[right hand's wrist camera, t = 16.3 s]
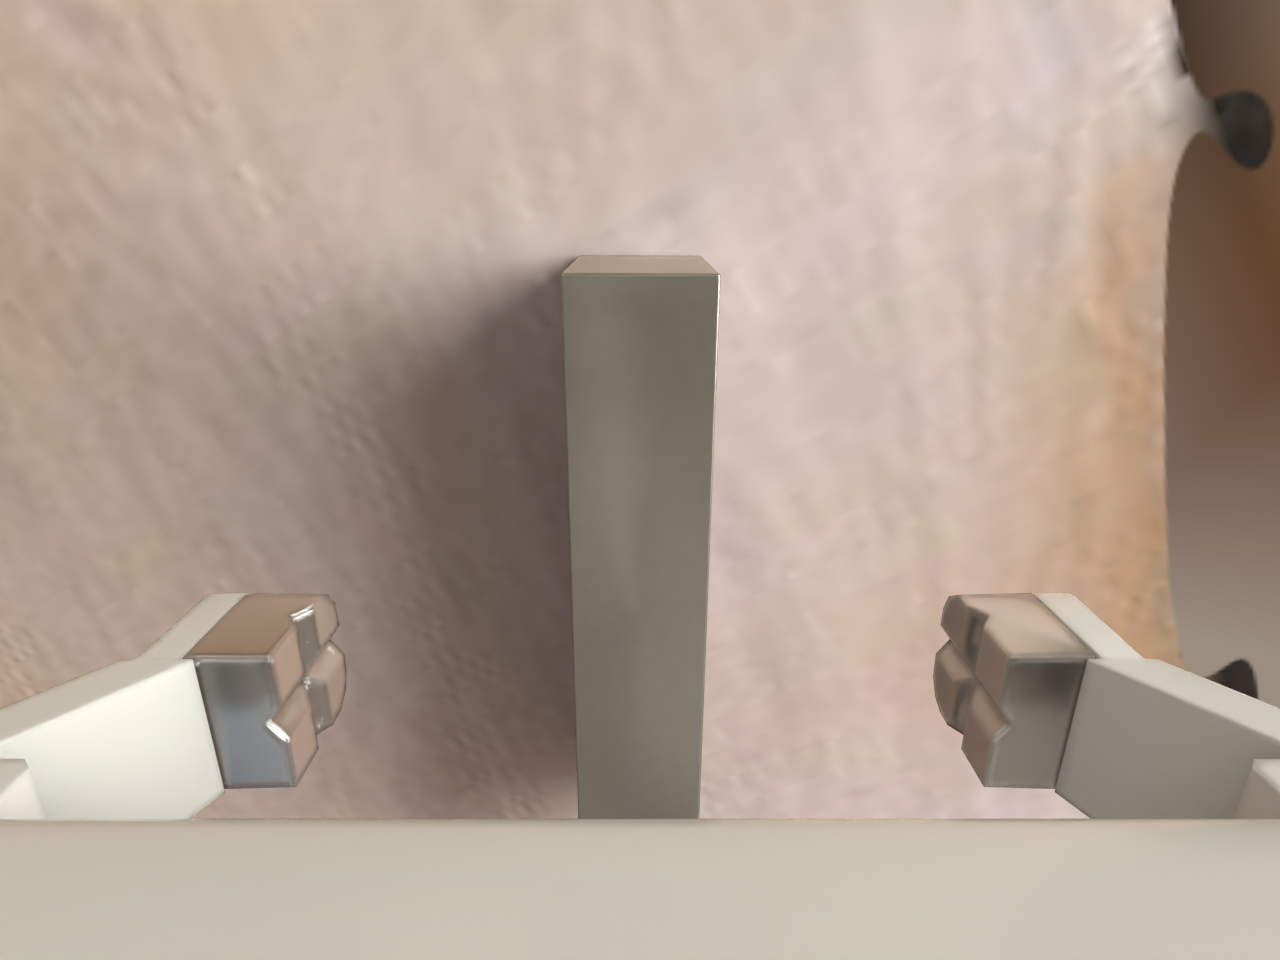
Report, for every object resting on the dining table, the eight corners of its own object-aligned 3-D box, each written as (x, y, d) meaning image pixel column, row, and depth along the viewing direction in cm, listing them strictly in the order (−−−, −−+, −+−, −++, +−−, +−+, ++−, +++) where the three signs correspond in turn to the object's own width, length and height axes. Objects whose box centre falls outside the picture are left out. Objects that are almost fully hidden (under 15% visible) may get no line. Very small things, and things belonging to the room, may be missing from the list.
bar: (578, 255, 31) (560, 273, 24) (702, 255, 31) (720, 273, 24) (591, 754, 40) (580, 876, 33) (686, 754, 40) (697, 877, 33)
